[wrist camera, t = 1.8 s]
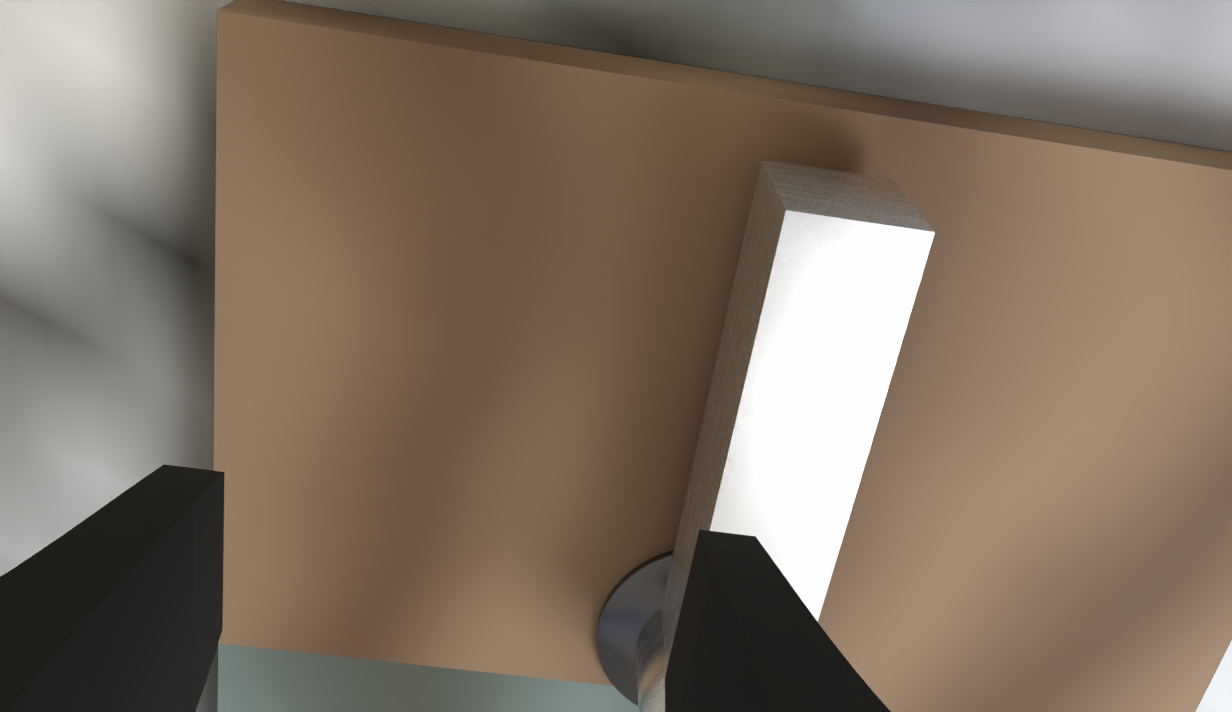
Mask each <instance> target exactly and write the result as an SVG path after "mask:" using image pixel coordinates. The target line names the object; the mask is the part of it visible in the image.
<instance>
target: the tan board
mask: <svg viewBox="0 0 1232 712" xmlns="http://www.w3.org/2000/svg"><path fill="white" fill-rule="evenodd" d="M761 159H764V160H771V161H778V162H784V163H791V164H797V165H804V166H810V167H817V168H823V169H830V170H837V171H843V172H850V173H856V174H863V175H869V176H876V177H882V178H889V179H893V180H894V182H895V183H896V184H897V185H898V187H899V188H900V189H901V190H902V192H903V193H904V194H905V195H906V197H907V198H908V199H909V200H910V202H911V203H912V204H913V205H914V207H915V208H916V209H917V210H918V212H919V213H920V214H921V215H922V217H923V218H924V219H925V220H926V222H927V223H928V224H929V225H930V227H931V228H932V229H933V230H934V232H935V234H934V237H933V240H932V244H931V247H930V250H929V254H928V257H927V260H926V264H925V267H924V270H923V274H922V277H921V280H920V284H919V287H918V290H917V294H916V297H915V300H914V304H913V307H912V310H911V313H910V317H909V320H908V323H907V327H906V330H905V333H904V337H903V340H902V343H901V347H900V350H899V353H898V357H897V360H896V363H895V367H894V370H893V373H892V377H891V380H890V383H889V387H888V390H887V393H886V397H885V400H884V403H883V407H882V410H881V413H880V417H879V420H878V423H877V427H876V430H875V433H874V437H873V440H872V443H871V446H870V450H869V453H868V456H867V460H866V463H865V466H864V470H863V473H862V476H861V480H860V483H859V486H858V490H857V493H856V496H855V500H854V503H853V506H852V510H851V513H850V516H849V520H848V523H847V526H846V530H845V533H844V536H843V540H842V543H841V546H840V550H839V553H838V556H837V560H836V563H835V566H834V569H833V573H832V576H831V579H830V583H829V586H828V589H827V593H826V596H825V599H824V603H823V606H822V609H821V613H820V616H819V619H818V623H819V624H820V626H821V627H822V628H823V630H824V631H825V632H826V634H827V635H828V636H829V638H830V639H831V640H832V642H833V643H834V644H835V645H836V647H837V648H838V649H839V650H840V652H841V653H842V654H843V655H844V657H845V658H846V659H847V661H848V662H849V663H850V664H851V666H852V667H853V668H854V669H855V671H856V672H857V673H858V674H859V675H860V677H861V678H862V679H863V680H864V681H865V682H866V684H867V685H868V686H869V687H870V688H871V690H872V691H873V692H874V693H875V694H876V695H877V697H878V698H879V699H880V700H881V701H882V702H883V703H884V704H885V706H886V707H887V708H888V709H889V710H890V711H891V712H1195V711H1196V709H1197V707H1198V705H1199V703H1200V701H1201V699H1202V697H1203V696H1204V694H1205V692H1206V690H1207V688H1208V686H1209V684H1210V682H1211V680H1212V678H1213V676H1214V674H1215V672H1216V670H1217V668H1218V666H1219V664H1220V662H1221V660H1222V658H1223V656H1224V654H1225V652H1226V650H1227V648H1228V646H1229V644H1230V642H1231V640H1232V152H1227V151H1221V150H1215V149H1209V148H1202V147H1196V146H1190V145H1183V144H1177V143H1171V142H1165V141H1158V140H1152V139H1146V138H1139V137H1133V136H1127V135H1121V134H1114V133H1108V132H1102V131H1096V130H1089V129H1083V128H1077V127H1070V126H1064V125H1058V124H1052V123H1045V122H1039V121H1033V120H1026V119H1020V118H1014V117H1008V116H1001V115H995V114H989V113H982V112H976V111H970V110H964V109H957V108H951V107H945V106H938V105H932V104H926V103H920V102H913V101H907V100H901V99H894V98H888V97H882V96H876V95H869V94H863V93H857V92H851V91H844V90H838V89H832V88H825V87H819V86H813V85H807V84H800V83H794V82H788V81H781V80H775V79H769V78H763V77H756V76H750V75H744V74H737V73H731V72H725V71H719V70H712V69H706V68H700V67H693V66H687V65H681V64H675V63H668V62H662V61H656V60H650V59H643V58H637V57H631V56H624V55H618V54H612V53H606V52H599V51H593V50H587V49H580V48H574V47H568V46H562V45H555V44H549V43H543V42H536V41H530V40H524V39H518V38H511V37H505V36H499V35H492V34H486V33H480V32H474V31H467V30H461V29H455V28H448V27H442V26H436V25H430V24H423V23H417V22H411V21H405V20H398V19H392V18H386V17H379V16H373V15H367V14H361V13H354V12H348V11H342V10H335V9H329V8H323V7H317V6H310V5H304V4H298V3H291V2H285V1H279V0H234V1H232V2H231V3H229V4H227V5H226V6H224V7H222V8H220V9H219V10H217V83H216V214H215V344H214V471H220V472H225V473H224V552H223V630H222V633H221V636H220V639H219V642H218V712H639V707H638V706H637V705H635V704H634V703H632V702H631V701H629V700H628V699H627V698H625V697H624V696H623V695H622V694H621V693H620V692H619V691H618V690H617V689H616V688H615V687H614V686H613V684H612V683H611V682H610V681H609V679H608V677H607V676H606V674H605V672H604V670H603V668H602V665H601V663H600V659H599V655H598V651H597V626H598V619H599V616H600V612H601V609H602V607H603V605H604V603H605V600H606V599H607V597H608V596H609V594H610V592H611V591H612V589H613V588H614V587H615V586H616V585H617V584H618V582H619V581H620V580H621V579H622V578H623V577H624V576H626V575H627V574H628V573H629V572H630V571H631V570H633V569H634V568H636V567H637V566H639V565H640V564H642V563H643V562H645V561H647V560H649V559H651V558H653V557H655V556H657V555H660V554H663V553H665V552H668V551H672V550H674V547H675V542H676V538H677V534H678V529H679V525H680V520H681V516H682V511H683V507H684V502H685V498H686V493H687V489H688V484H689V480H690V475H691V471H692V466H693V462H694V457H695V453H696V448H697V444H698V439H699V435H700V431H701V426H702V422H703V417H704V413H705V408H706V404H707V399H708V395H709V390H710V386H711V381H712V377H713V372H714V368H715V363H716V359H717V354H718V350H719V345H720V341H721V336H722V332H723V328H724V323H725V319H726V314H727V310H728V305H729V301H730V296H731V292H732V287H733V283H734V278H735V274H736V269H737V265H738V260H739V256H740V251H741V247H742V242H743V238H744V233H745V229H746V225H747V220H748V216H749V211H750V207H751V202H752V198H753V193H754V189H755V184H756V180H757V175H758V171H759V166H760V162H761Z"/></svg>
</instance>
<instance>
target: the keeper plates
mask: <svg viewBox="0 0 1232 712" xmlns="http://www.w3.org/2000/svg"><path fill="white" fill-rule="evenodd" d="M673 551H674V550H672V551H668V552H665V553H663V554H660V555H657V556H655V557H653V558H651V559H649V560H647V561H645V562H643V563H642V564H640V565H639V566H637V567H636V568H634V569H633V570H631V571H630V572H629V573H628V574H627V575H626V576H624V577H623V578H622V579H621V580H620V581H619V582H618V584H617V585H616V586H615V587H614V588H613V589H612V591H611V592H610V594H609V596H608V597H607V599H606V600H605V603H604V605H603V607H602V609H601V612H600V616H599V619H598V626H597V651H598V655H599V659H600V663H601V665H602V668H603V670H604V672H605V674H606V676H607V677H608V679H609V681H610V682H611V683H612V684H613V686H614V687H615V688H616V689H617V690H618V691H619V692H620V693H621V694H622V695H623V696H624V697H625V698H627V699H628V700H629V701H631V702H632V703H634V704H635V705H637V706H638V690H637V673H636V654H635V650H636V643H637V639H638V636H639V634H640V632H641V630H642V628H643V627H644V625H645V624H646V622H647V621H648V620H649V619H650V618H651V617H652V616H653V615H654V614H655V613H656V612H657V611H659V610H660V609H661V605H662V601H663V596H664V592H665V587H666V583H667V578H668V574H669V569H670V565H671V560H672V556H673Z"/></svg>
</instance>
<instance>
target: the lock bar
mask: <svg viewBox="0 0 1232 712" xmlns="http://www.w3.org/2000/svg"><path fill="white" fill-rule="evenodd" d="M934 234H935V232H934V230H933V229H932V228H931V227H930V225H929V224H928V223H927V222H926V220H925V219H924V218H923V217H922V215H921V214H920V213H919V212H918V210H917V209H916V208H915V207H914V205H913V204H912V203H911V202H910V200H909V199H908V198H907V197H906V195H905V194H904V193H903V192H902V190H901V189H900V188H899V187H898V185H897V184H896V183H895V182H894V180H893V179H889V178H882V177H876V176H869V175H863V174H856V173H850V172H843V171H837V170H830V169H823V168H817V167H810V166H804V165H797V164H791V163H784V162H778V161H771V160H764V159H761V162H760V166H759V171H758V175H757V180H756V184H755V189H754V193H753V198H752V202H751V207H750V211H749V216H748V220H747V225H746V229H745V233H744V238H743V242H742V247H741V251H740V256H739V260H738V265H737V269H736V274H735V278H734V283H733V287H732V292H731V296H730V301H729V305H728V310H727V314H726V319H725V323H724V328H723V332H722V336H721V341H720V345H719V350H718V354H717V359H716V363H715V368H714V372H713V377H712V381H711V386H710V390H709V395H708V399H707V404H706V408H705V413H704V417H703V422H702V426H701V431H700V435H699V439H698V444H697V448H696V453H695V457H694V462H693V466H692V471H691V475H690V480H689V484H688V489H687V493H686V498H685V502H684V507H683V511H682V516H681V520H680V525H679V529H678V534H677V538H676V542H675V547H674V551H673V556H672V560H671V565H670V569H669V574H668V578H667V583H666V587H665V592H664V596H663V601H662V605H661V609H660V610H659V611H657V612H656V613H655V614H654V615H653V616H652V617H651V618H650V619H649V620H648V621H647V622H646V624H645V625H644V627H643V628H642V630H641V632H640V634H639V636H638V639H637V643H636V650H635V654H636V673H637V690H638V707H639V712H665V675H666V670H667V666H668V662H669V658H670V653H671V649H672V645H673V640H674V636H675V632H676V628H677V623H678V619H679V615H680V610H681V606H682V602H683V597H684V593H685V589H686V585H687V580H688V576H689V572H690V567H691V563H692V559H693V555H694V550H695V546H696V542H697V537H698V533H699V530H707V531H715V532H724V533H732V534H740V535H749V536H756V538H757V539H758V540H759V542H760V543H761V544H762V546H763V547H764V549H765V550H766V551H767V553H768V554H769V555H770V557H771V558H772V560H773V561H774V562H775V564H776V565H777V567H778V568H779V569H780V571H781V572H782V573H783V575H784V576H785V578H786V579H787V580H788V582H789V583H790V585H791V586H792V587H793V589H794V590H795V592H796V593H797V594H798V596H799V597H800V599H801V600H802V601H803V603H804V604H805V605H806V607H807V608H808V609H809V611H810V612H811V614H812V615H813V616H814V618H815V619H816V620H817V622H818V619H819V616H820V613H821V609H822V606H823V603H824V599H825V596H826V593H827V589H828V586H829V583H830V579H831V576H832V573H833V569H834V566H835V563H836V560H837V556H838V553H839V550H840V546H841V543H842V540H843V536H844V533H845V530H846V526H847V523H848V520H849V516H850V513H851V510H852V506H853V503H854V500H855V496H856V493H857V490H858V486H859V483H860V480H861V476H862V473H863V470H864V466H865V463H866V460H867V456H868V453H869V450H870V446H871V443H872V440H873V437H874V433H875V430H876V427H877V423H878V420H879V417H880V413H881V410H882V407H883V403H884V400H885V397H886V393H887V390H888V387H889V383H890V380H891V377H892V373H893V370H894V367H895V363H896V360H897V357H898V353H899V350H900V347H901V343H902V340H903V337H904V333H905V330H906V327H907V323H908V320H909V317H910V313H911V310H912V307H913V304H914V300H915V297H916V294H917V290H918V287H919V284H920V280H921V277H922V274H923V270H924V267H925V264H926V260H927V257H928V254H929V250H930V247H931V244H932V240H933V237H934Z"/></svg>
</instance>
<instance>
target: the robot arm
mask: <svg viewBox="0 0 1232 712" xmlns="http://www.w3.org/2000/svg"><path fill="white" fill-rule="evenodd" d="M224 473H225V472H220V471H212V470H203V469H195V468H187V467H179V466H170V465H163V466H161V467H160V468H158V469H157V470H155V471H154V472H152V473H151V474H149V475H148V476H146V477H145V478H144V479H142V480H141V481H139V482H138V483H136V484H135V485H134V486H132V487H131V488H129V489H128V490H126V491H125V492H124V493H122V494H121V495H119V496H118V497H116V498H115V499H114V500H112V501H111V502H109V503H108V504H107V505H105V506H104V507H102V508H101V509H100V510H98V511H97V512H95V513H94V514H93V515H91V516H90V517H88V518H87V519H85V520H84V521H83V522H81V523H80V524H78V525H77V526H76V527H74V528H73V529H71V530H70V531H68V532H67V533H66V534H64V535H63V536H61V537H60V538H58V539H57V540H55V541H54V542H52V543H51V544H49V545H48V546H46V547H45V548H43V549H42V550H41V551H39V552H38V553H36V554H35V555H33V556H32V557H30V558H29V559H27V560H26V561H24V562H23V563H21V564H20V565H18V566H17V567H15V568H14V569H12V570H11V571H9V572H7V573H6V574H4V575H3V576H1V577H0V712H195V711H196V709H197V706H198V703H199V700H200V697H201V694H202V691H203V688H204V685H205V682H206V679H207V676H208V673H209V670H210V667H211V664H212V661H213V658H214V655H215V652H216V649H217V645H218V642H219V639H220V636H221V633H222V630H223V552H224ZM665 712H891V711H890V710H889V709H888V708H887V707H886V706H885V704H884V703H883V702H882V701H881V700H880V699H879V698H878V697H877V695H876V694H875V693H874V692H873V691H872V690H871V688H870V687H869V686H868V685H867V684H866V682H865V681H864V680H863V679H862V678H861V677H860V675H859V674H858V673H857V672H856V671H855V669H854V668H853V667H852V666H851V664H850V663H849V662H848V661H847V659H846V658H845V657H844V655H843V654H842V653H841V652H840V650H839V649H838V648H837V647H836V645H835V644H834V643H833V642H832V640H831V639H830V638H829V636H828V635H827V634H826V632H825V631H824V630H823V628H822V627H821V626H820V624H819V623H818V622H817V620H816V619H815V618H814V616H813V615H812V614H811V612H810V611H809V609H808V608H807V607H806V605H805V604H804V603H803V601H802V600H801V599H800V597H799V596H798V594H797V593H796V592H795V590H794V589H793V587H792V586H791V585H790V583H789V582H788V580H787V579H786V578H785V576H784V575H783V573H782V572H781V571H780V569H779V568H778V567H777V565H776V564H775V562H774V561H773V560H772V558H771V557H770V555H769V554H768V553H767V551H766V550H765V549H764V547H763V546H762V544H761V543H760V542H759V540H758V539H757V538H756V536H749V535H740V534H732V533H724V532H715V531H707V530H699V533H698V537H697V542H696V546H695V550H694V555H693V559H692V563H691V567H690V572H689V576H688V580H687V585H686V589H685V593H684V597H683V602H682V606H681V610H680V615H679V619H678V623H677V628H676V632H675V636H674V640H673V645H672V649H671V653H670V658H669V662H668V666H667V670H666V675H665Z"/></svg>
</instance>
